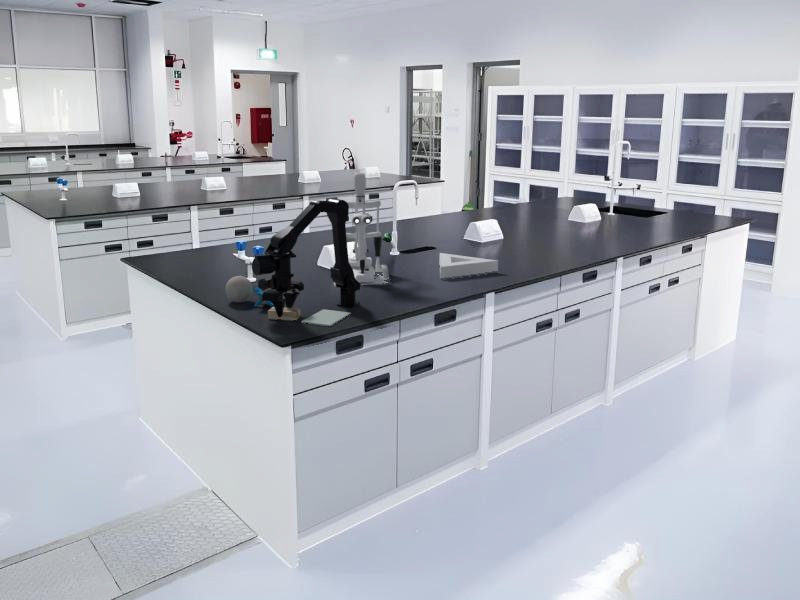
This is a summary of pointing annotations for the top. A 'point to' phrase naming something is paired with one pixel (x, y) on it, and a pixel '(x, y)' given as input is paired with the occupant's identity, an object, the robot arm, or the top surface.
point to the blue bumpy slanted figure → (259, 293)
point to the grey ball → (239, 289)
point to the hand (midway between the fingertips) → (284, 314)
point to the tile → (284, 314)
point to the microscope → (361, 262)
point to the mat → (326, 317)
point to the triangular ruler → (464, 265)
